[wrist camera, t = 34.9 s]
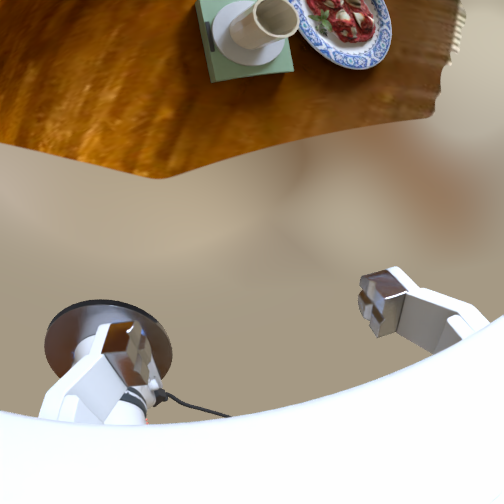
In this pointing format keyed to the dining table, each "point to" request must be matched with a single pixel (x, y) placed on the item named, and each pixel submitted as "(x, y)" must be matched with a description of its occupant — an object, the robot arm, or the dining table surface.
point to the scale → (231, 54)
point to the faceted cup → (264, 23)
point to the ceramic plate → (346, 30)
